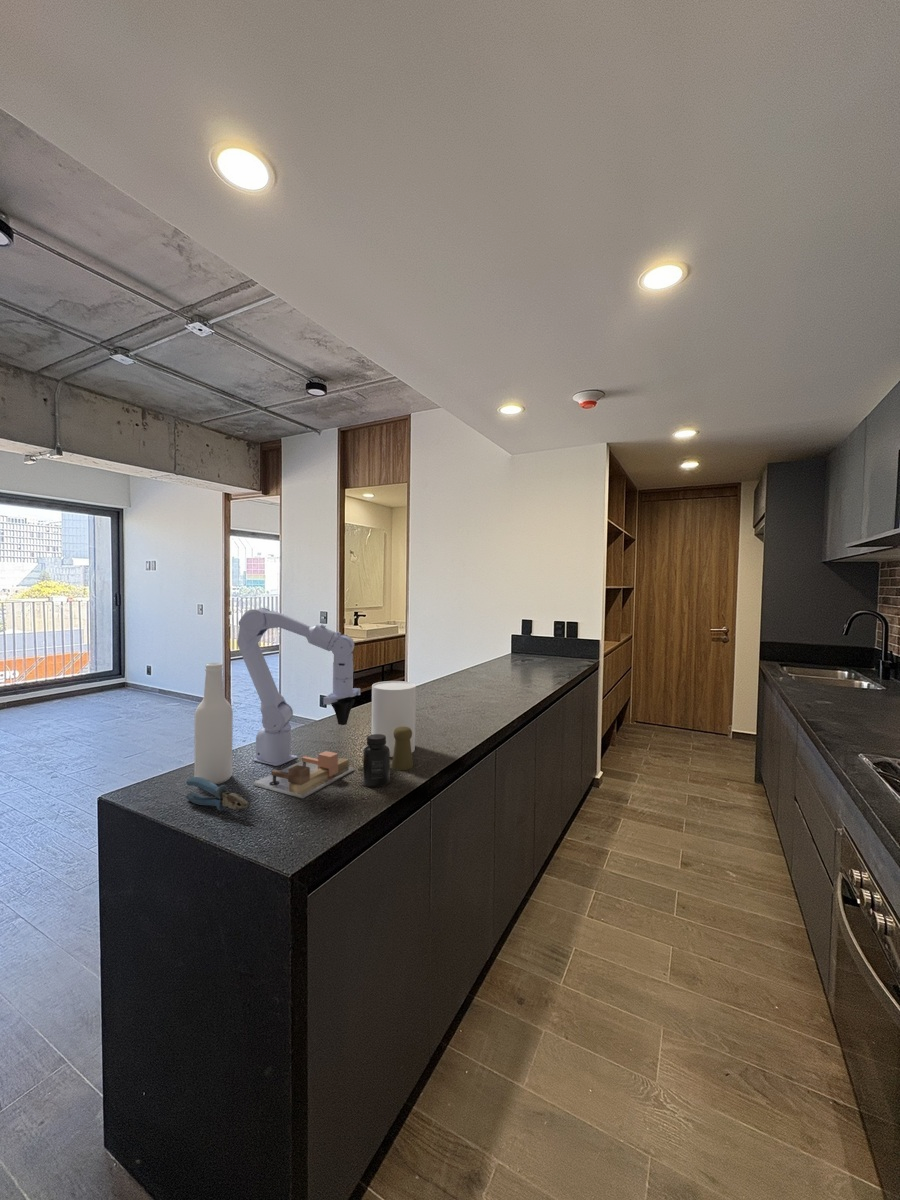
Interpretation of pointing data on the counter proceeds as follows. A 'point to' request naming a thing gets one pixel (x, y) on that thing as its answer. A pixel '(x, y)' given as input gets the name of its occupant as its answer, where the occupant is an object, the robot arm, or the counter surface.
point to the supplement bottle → (376, 761)
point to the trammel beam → (306, 775)
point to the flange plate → (283, 783)
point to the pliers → (221, 793)
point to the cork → (402, 749)
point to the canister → (393, 710)
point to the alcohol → (213, 730)
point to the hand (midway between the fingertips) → (342, 724)
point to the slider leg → (324, 761)
